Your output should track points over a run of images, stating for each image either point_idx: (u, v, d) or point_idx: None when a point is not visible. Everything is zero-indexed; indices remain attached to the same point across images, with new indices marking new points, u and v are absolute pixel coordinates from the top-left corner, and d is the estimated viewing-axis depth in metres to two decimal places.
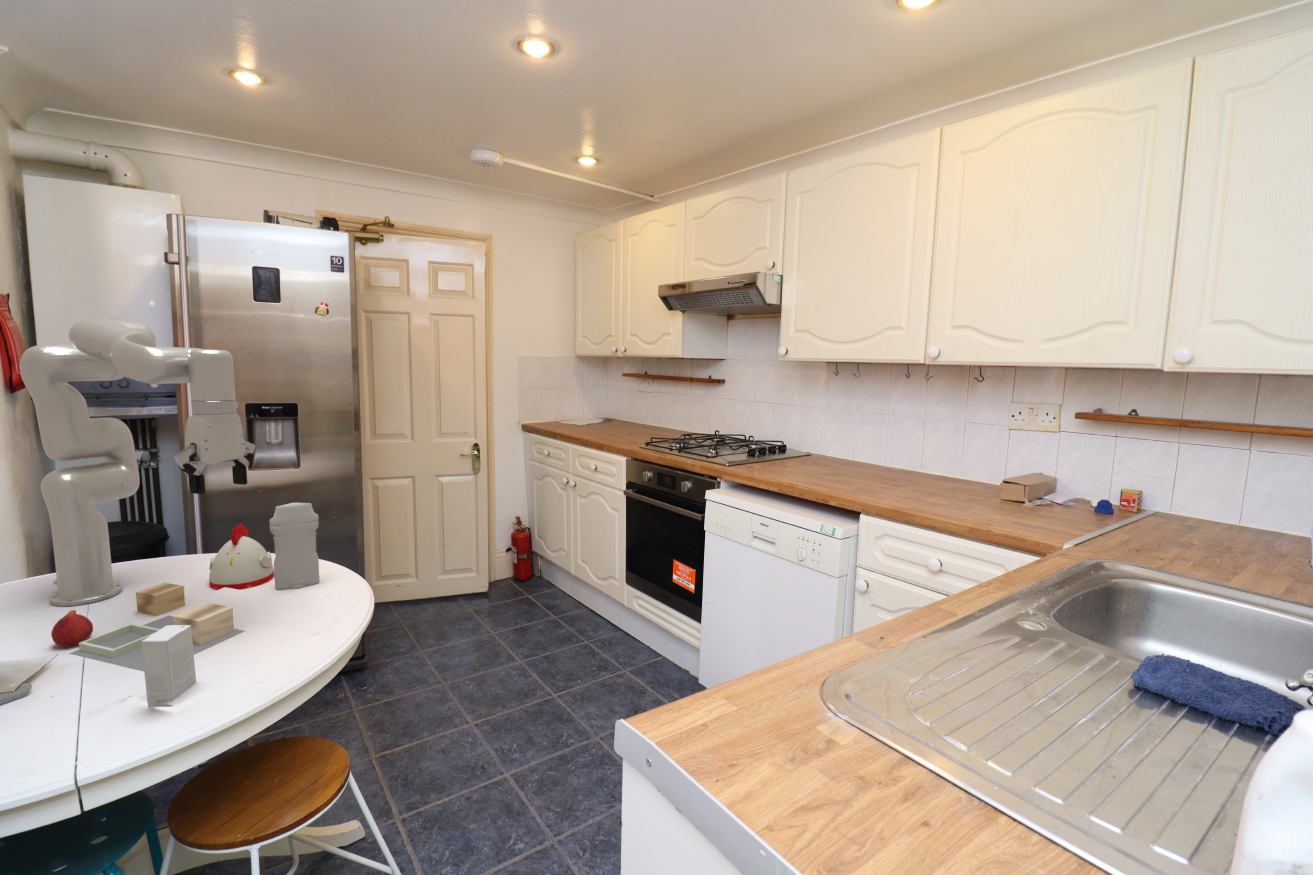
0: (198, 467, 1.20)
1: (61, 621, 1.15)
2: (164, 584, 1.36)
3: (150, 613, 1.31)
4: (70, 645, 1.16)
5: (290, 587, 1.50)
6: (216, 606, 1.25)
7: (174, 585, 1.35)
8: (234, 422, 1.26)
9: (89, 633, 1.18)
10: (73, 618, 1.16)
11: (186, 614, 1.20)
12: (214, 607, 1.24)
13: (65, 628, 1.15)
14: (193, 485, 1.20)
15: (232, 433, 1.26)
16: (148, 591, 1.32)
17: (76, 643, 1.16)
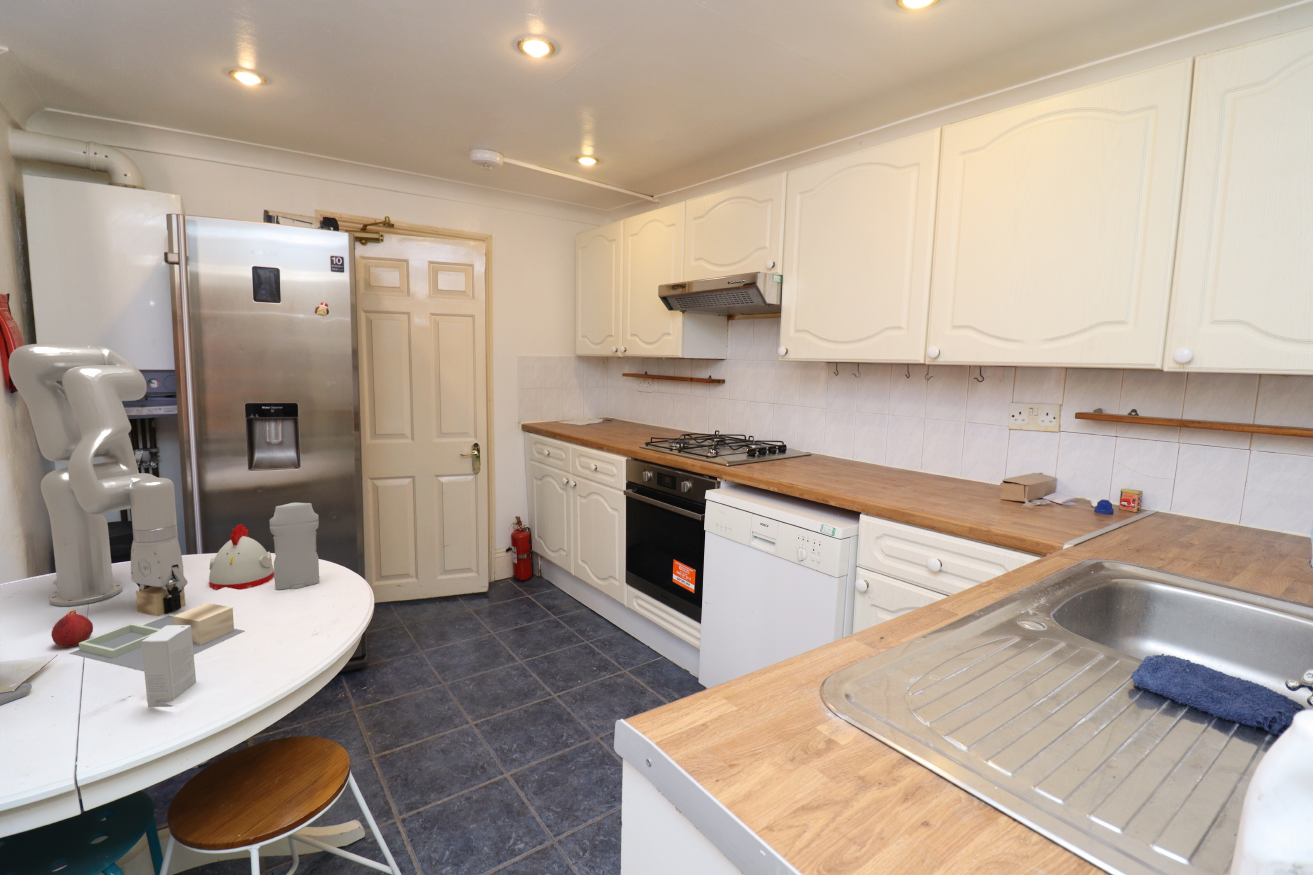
0: None
1: (61, 621, 1.15)
2: None
3: (150, 613, 1.31)
4: (70, 645, 1.16)
5: (290, 587, 1.50)
6: (216, 606, 1.25)
7: None
8: None
9: (89, 633, 1.18)
10: (73, 618, 1.16)
11: (186, 614, 1.20)
12: (214, 607, 1.24)
13: (65, 628, 1.15)
14: (176, 604, 1.33)
15: None
16: (148, 590, 1.32)
17: (76, 643, 1.16)
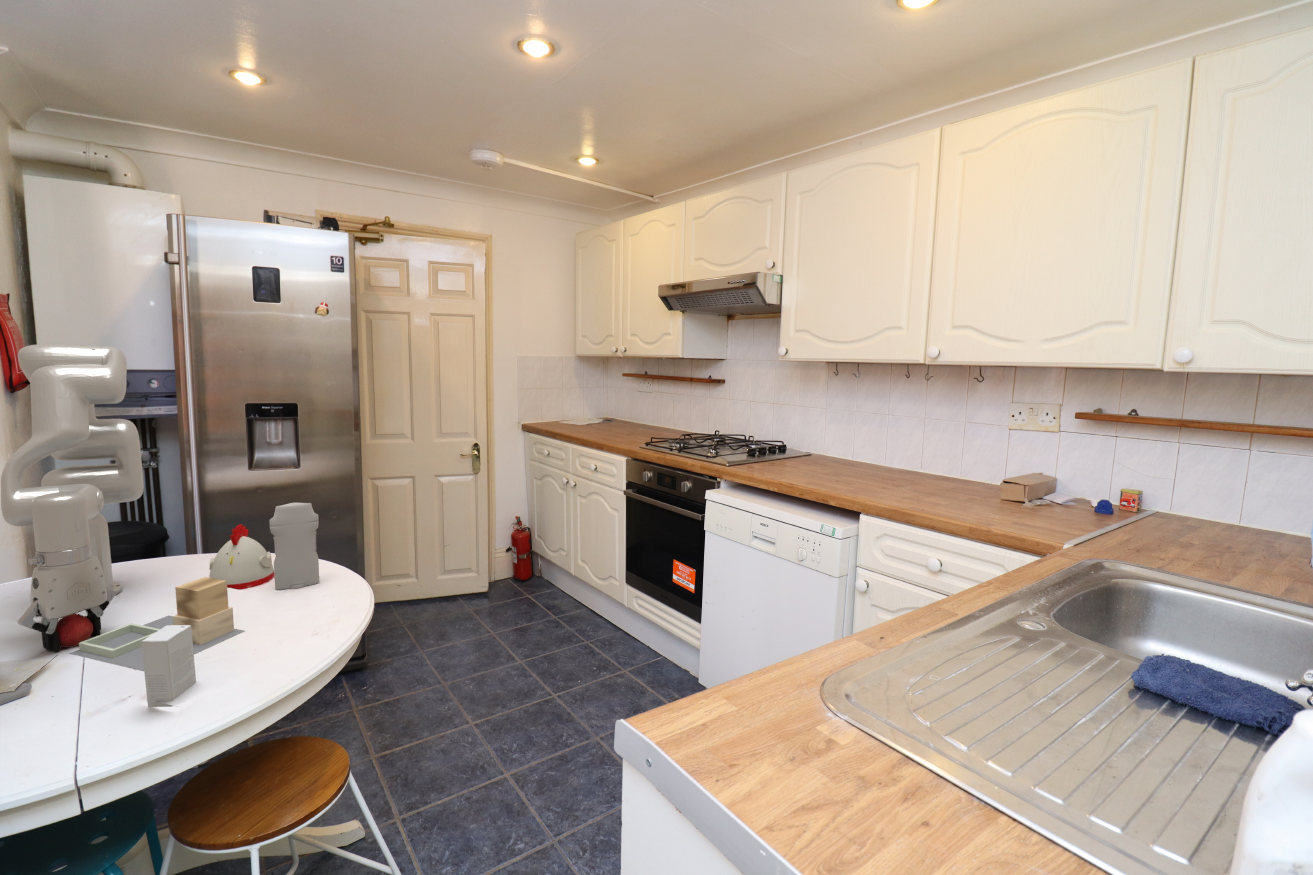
0: None
1: (61, 621, 1.15)
2: (205, 579, 1.24)
3: (191, 610, 1.19)
4: (70, 645, 1.16)
5: (290, 587, 1.50)
6: None
7: (216, 580, 1.23)
8: None
9: (89, 633, 1.18)
10: (73, 618, 1.16)
11: None
12: None
13: (65, 628, 1.15)
14: None
15: None
16: (188, 586, 1.20)
17: (76, 643, 1.16)
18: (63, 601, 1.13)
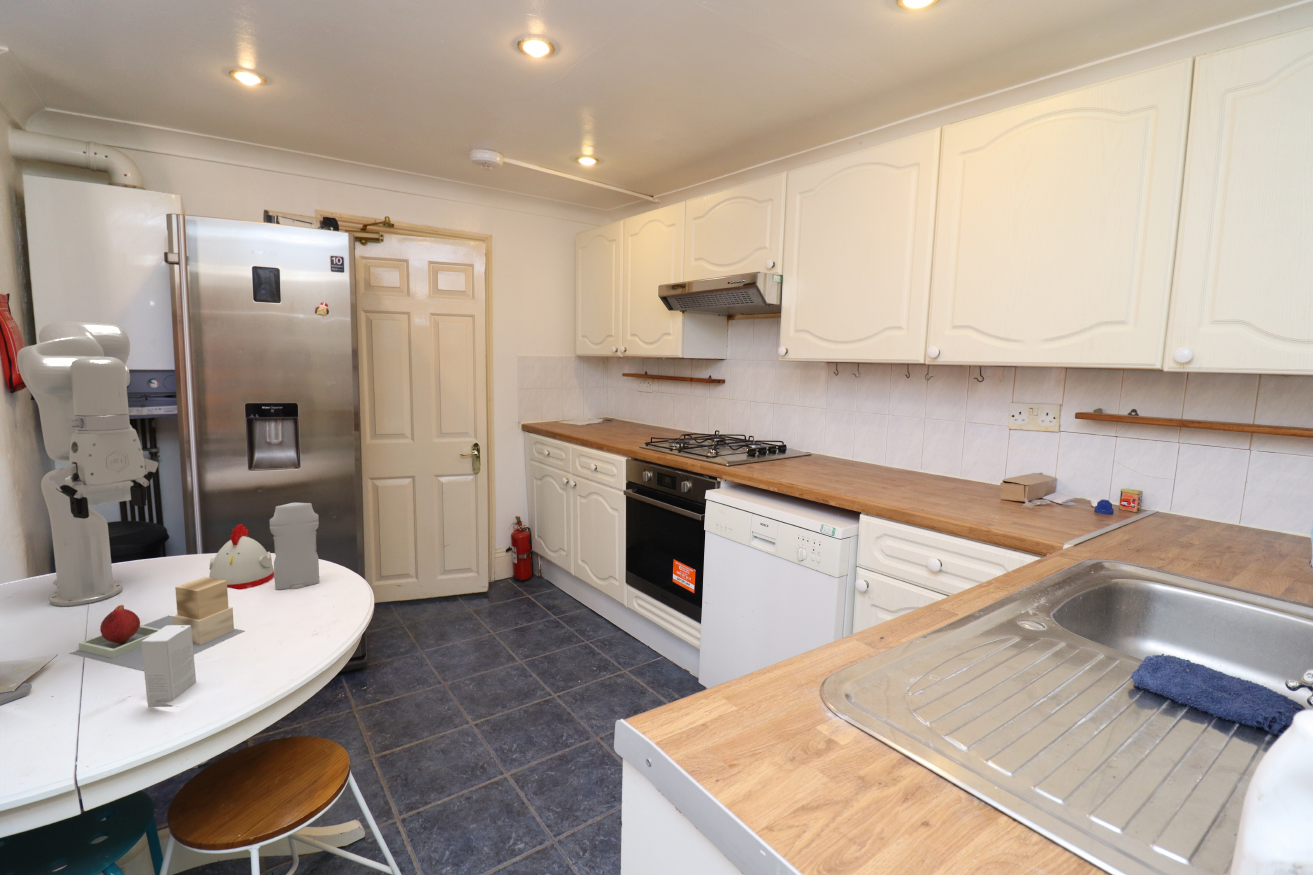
0: None
1: (110, 616, 1.15)
2: (205, 579, 1.24)
3: (191, 610, 1.19)
4: (118, 640, 1.16)
5: (290, 587, 1.50)
6: None
7: (216, 580, 1.23)
8: None
9: (136, 628, 1.18)
10: (121, 613, 1.16)
11: None
12: None
13: (113, 623, 1.15)
14: None
15: None
16: (188, 586, 1.20)
17: (124, 638, 1.16)
18: (102, 468, 1.10)
